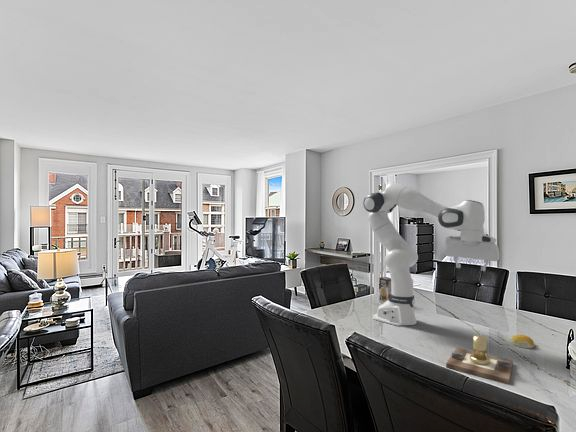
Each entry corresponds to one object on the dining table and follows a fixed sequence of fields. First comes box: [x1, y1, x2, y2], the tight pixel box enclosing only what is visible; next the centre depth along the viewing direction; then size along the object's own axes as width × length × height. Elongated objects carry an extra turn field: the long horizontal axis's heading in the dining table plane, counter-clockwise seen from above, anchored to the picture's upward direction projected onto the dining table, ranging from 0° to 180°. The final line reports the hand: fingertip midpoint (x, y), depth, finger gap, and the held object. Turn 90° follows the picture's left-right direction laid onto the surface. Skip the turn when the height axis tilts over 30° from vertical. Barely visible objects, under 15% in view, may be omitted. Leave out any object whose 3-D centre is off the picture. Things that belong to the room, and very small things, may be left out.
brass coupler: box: [470, 334, 490, 365], centre depth 117 cm, size 6×6×9 cm
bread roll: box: [510, 334, 536, 350], centre depth 137 cm, size 8×9×4 cm
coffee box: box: [378, 276, 391, 304], centre depth 204 cm, size 9×6×16 cm
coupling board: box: [445, 347, 514, 385], centre depth 117 cm, size 19×18×3 cm
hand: (470, 269), depth 136 cm, fingers open, 8 cm apart
